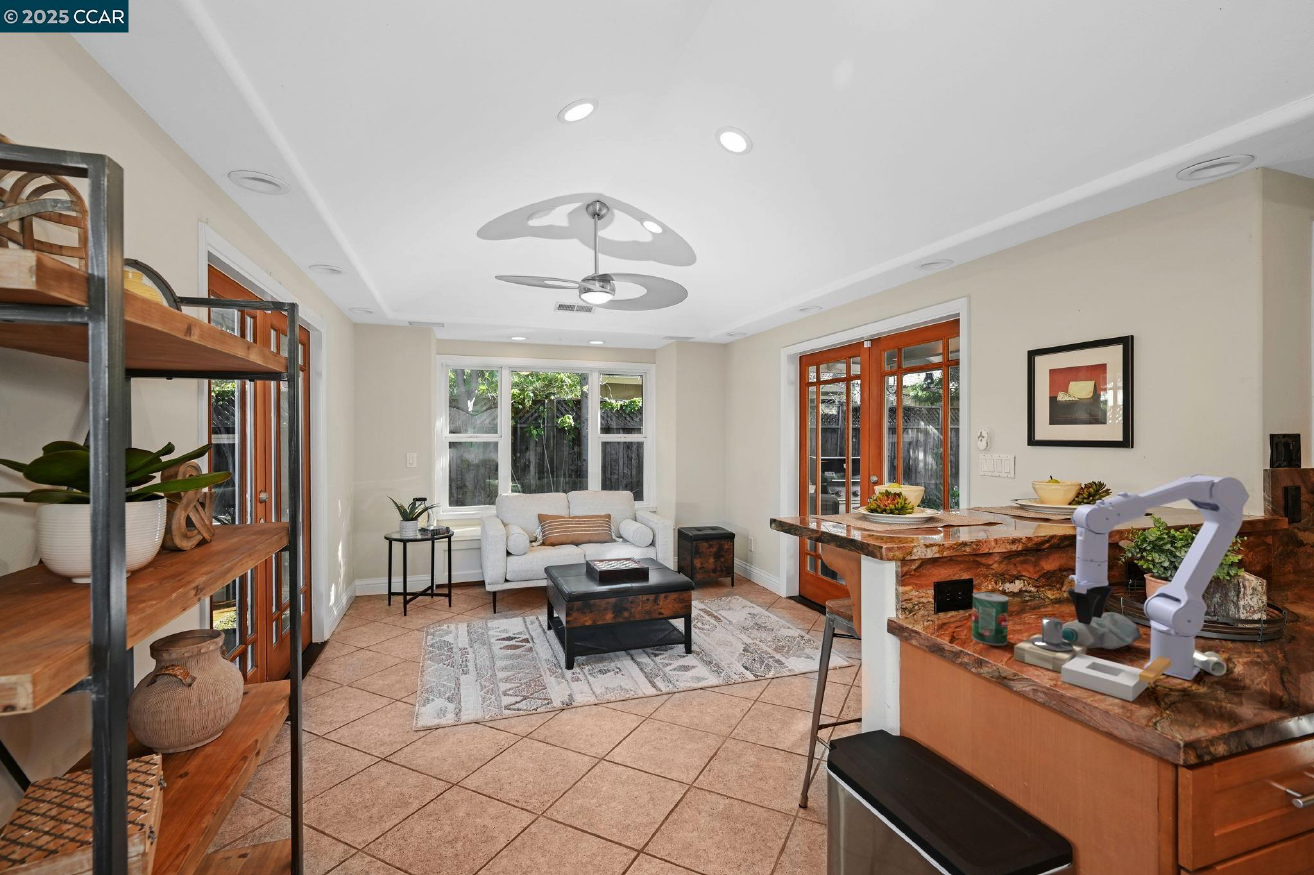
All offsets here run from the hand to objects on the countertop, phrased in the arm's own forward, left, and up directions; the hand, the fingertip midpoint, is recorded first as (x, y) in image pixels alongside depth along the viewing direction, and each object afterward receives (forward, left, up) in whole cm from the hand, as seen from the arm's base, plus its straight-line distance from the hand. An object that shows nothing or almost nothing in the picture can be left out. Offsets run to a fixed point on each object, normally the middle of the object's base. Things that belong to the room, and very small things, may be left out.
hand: (1089, 620), depth 135 cm
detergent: (-15, -3, -10) cm, 18 cm away
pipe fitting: (-21, +17, -11) cm, 29 cm away
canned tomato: (0, -21, -11) cm, 24 cm away
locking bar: (+5, +13, -6) cm, 15 cm away
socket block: (+8, +5, -10) cm, 14 cm away
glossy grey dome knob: (+2, -7, -10) cm, 12 cm away
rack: (+2, -7, -10) cm, 13 cm away
